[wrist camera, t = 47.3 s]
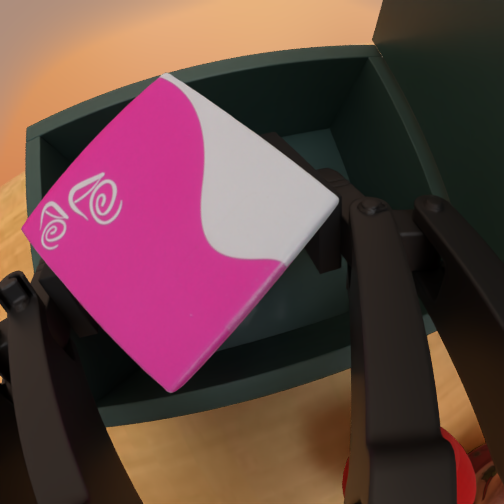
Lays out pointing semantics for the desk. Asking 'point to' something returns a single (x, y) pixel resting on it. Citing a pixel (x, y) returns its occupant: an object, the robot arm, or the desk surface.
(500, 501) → the decorative planter
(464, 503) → the red rounded lump
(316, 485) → the desk surface
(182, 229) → the supplement box
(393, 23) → the lid
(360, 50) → the chest
